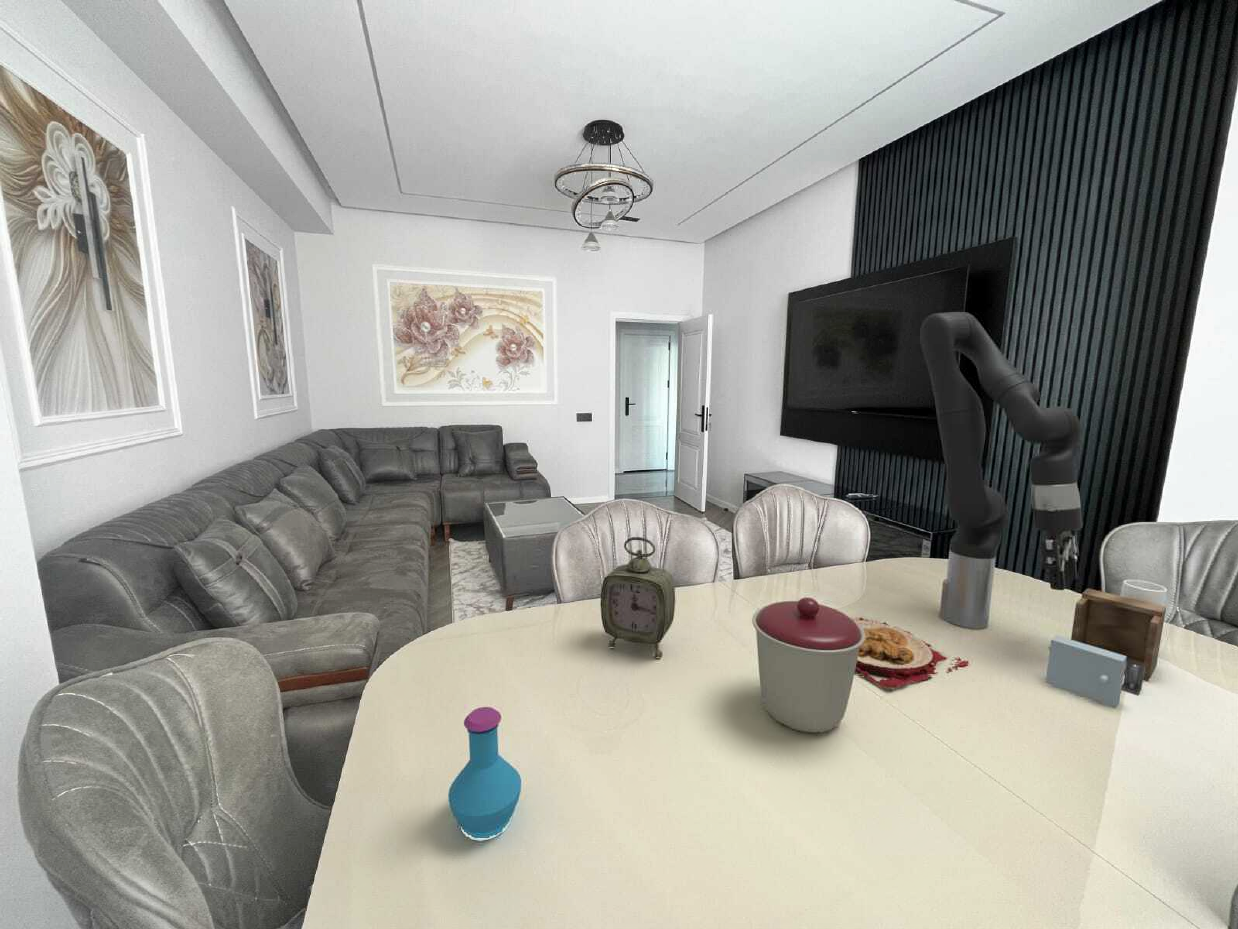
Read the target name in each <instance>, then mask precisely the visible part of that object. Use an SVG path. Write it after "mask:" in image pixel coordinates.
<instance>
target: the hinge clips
mask: <svg viewBox="0 0 1238 929" xmlns="http://www.w3.org/2000/svg"><path fill="white" fill-rule="evenodd" d="M1144 671H1145V665H1142V664H1139V663H1135V662H1132V661H1129V660H1127V664H1126V670H1125V674H1124V676H1123V682H1122V689H1121V691H1125V692H1127V693H1130V694H1134V695H1136V696H1140V694H1141V692H1142V688H1143V684H1144V683H1143V682H1144V680H1143V677H1144ZM1140 691H1141V692H1140Z"/></svg>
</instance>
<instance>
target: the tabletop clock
mask: <svg viewBox="0 0 1238 929" xmlns="http://www.w3.org/2000/svg"><path fill="white" fill-rule="evenodd" d="M631 541H641V542H646V543H648V544H649V545H650V546H651V547H652V549H653V550H652V551H651V552H649V553H643V551H642V549H637V551H636V552H634V551H632V550H630V549H628V547H627V544H628V543H629V542H631ZM623 547H624V549H625V551H626V553H628V554H629V555H631V556H634V557H632V558H631V560H629V562H628V563H626V564H621V565H618V566H617V567H616V568H614V569H613V570H612V571H611V572H609V573H608V574H607V575H606V576H605V577H604V579H603V582H602V584H601V589H600V590H601V591H600V592H601V593H600V615H601V624H602V627H603V629H604V632H605V633H606V634H608V635H609V636H611V637H613V639H612V640H610V641H608V643H607V646H608V648H609V647H614V648H615V647H616V641H617V640H618V639H620V640H623V641H626V642H630V643H637V644H641V643H643V645H644V644H646V645H654V648H655V652H654V657H655V658H657V657H661V658H662V657H663V652H662V650H660V649H659V643H661V642H662V640H663V639H664V637H665V635H666V634H667V633H668V631H669V630H670V629H671V626H672V625H673V622H674V618H675V610H676V588H675V587H676V586H675V581H674V579H673V576H672V573H670V572H668V570H665V569H662V568H659V567H654V566H652V565H651V562H650V561H649V560H648V559H647V558H648V557H651V556H652V555H654V553H656V546H655V544H654V543H653V542H652V541H651V540H650V539H648V538H646V537H640V536H632V537H630V538H628V539H626V540H625V541H624V543H623Z"/></svg>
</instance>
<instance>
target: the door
mask: <svg viewBox="0 0 1238 929" xmlns="http://www.w3.org/2000/svg"><path fill="white" fill-rule="evenodd" d="M1126 657H1127V656H1124V655H1120V654H1117V653H1114V652H1110V651H1107V650H1104V649H1100V648H1097V647H1094V646H1090V645H1087V644H1084V643H1080V642H1077V641H1074V640H1071V638H1067V637H1063V636H1060V635H1058V634H1057V635H1056V634H1055V635H1054V636H1053V637H1052V638H1051V640H1050V646H1049V653H1048V659H1047V660H1048V661H1047V668H1046V675H1045V682H1044V684H1046V683H1047V685H1049V684H1050V686H1052V685H1053V686H1052V687H1056V688H1058V689H1060V688H1061V690H1063V689H1064V690H1063V691H1066V692H1069V693H1072V694H1074V695H1077V696H1080V697H1083V698H1085V699H1088V700H1091V701H1095V702H1096V703H1100V704H1102V705H1105V706H1107V707H1111V708H1114V709H1117V707H1118V705H1119V704H1120V701H1121V694H1122V690H1121V689H1122V685H1123V682H1124V676H1125V674H1124V670H1125V664H1126Z"/></svg>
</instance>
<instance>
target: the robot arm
mask: <svg viewBox="0 0 1238 929" xmlns="http://www.w3.org/2000/svg"><path fill="white" fill-rule="evenodd" d="M919 336H920V338H919V339H920V343H921V348H922V349H921V350H922V353H923V355H924V359H925V363H926V367H927V369H928V370H927V371H928V374H929V378H930V382H931V383H930V384H931V386H932V393H933V397H934V403H935V404H934V405H935V412H936V418H937V425H938V430H939V435H940V441H941V447H942V453H943V454H942V455H943V458H944V460H943V461H944V464H945V471H946V485H947V486H946V489H947V491H946V494H947V507H948V512H949V514H950V516H951V519H952V520H953V521H954V522H955V523H956V524H958V525H957V526H958V527H957V530H956V531H955V533H954V535H953V536H952V537H951V539H950V541H949V552H948V561H947V571H946V572H947V573H946V578H945V579H944V580H943V581H942V586H941V587H942V588H941V598H940V607H939V618H941V619H944V620H946V622H949V623H951V624H954V625H956V626H959V627H963V628H967V629H976V630H980V629H986V628H987V627H988V626H989V621H990V611H991V603H992V592H993V585H994V584H993V583H994V575H995V566H996V559H997V551H998V549H999V546H1000V544H1001V541H1002V537H1003V531H1004V525H1005V518H1006V502H1005V499H1004V497H1003V495H1002V494H1001V493H1000V491H998V490H997V489H995V488H993V487H990V486H987V485H985V482H984V477H983V471H982V459H983V452H984V446H985V441H986V433H987V431H986V430H987V428H986V418H985V415H984V414H985V412H984V409H983V404H982V403H983V402H982V401H981V399H980V397H979V395H978V393H977V392H976V390H974V388H973V387H972V385H971V384H970V383H969V381H967V379H966V378H965V377H964V375H963V374H962V372H961V370H960V368H959V366H958V362H957V356H956V352H959V353H961V354H963V355H964V356H966V358H968V359H969V360H970V361H971V362H972V363H973V364H974V365H975V368H976V371H977V374H978V375H977V376H978V379H979V383H980V385H981V387H982V388H983V390H984V391H985V392H986V393H987V394H988V396H989V397H991V399H993V401H994V402H996V403H997V405H999V407H1000V408H1002V410H1003V411H1004V414H1005V416H1006V418H1007V420H1008V423H1010V426H1011V427H1012V430H1013V431H1014V433H1015V434H1016V435H1017V436H1018V437H1019V438H1020V439H1022V440H1023V441H1025V442H1027V443H1030V444H1035V445H1039V444H1042V448H1041V451H1040V453H1039V454H1037V455H1035V456H1033V457H1032V458H1031V459H1030V461H1029V472H1030V481H1031V492H1030V493H1031V494H1030V495H1031V504H1032V515H1033V522H1034V523H1033V525H1034V528H1035V529H1037V530H1039V531H1045V532H1046V538H1042V539H1041V540H1040V544H1041V553H1042V554H1041V555H1042V557H1041V558H1042V568H1043V570H1047V571H1048V576H1049V577H1048V578H1049V586H1050V589H1051V590H1054V591H1055V590H1056V591H1064V590H1066V580H1071V581H1076V580H1077V579H1078V572H1077V570H1078V569H1077V561H1078V557H1079V556H1080V550H1079V545H1078V544H1079V543H1078V535H1077V533H1078V532H1077V531H1078V530H1081V529H1082V528H1083V526H1084V524H1083V517H1082V516H1083V515H1082V507H1081V498H1080V497H1081V496H1080V491H1079V488H1078V483H1077V475H1076V467H1075V459H1076V456H1077V452H1078V446H1079V442H1080V436H1081V423H1080V419H1079V417H1078V416H1077V414H1076V413H1075V411H1073V410H1072V409H1071V408H1069V407H1066V406H1051V407H1045V408H1043V407H1040V406H1039V405H1038V404H1037V402H1038V400H1039V399H1040V396H1041V393H1040V390H1039V389H1038V388H1037V386H1036V385H1035V384H1034V383H1033V382H1031V381H1030V380H1029V379H1028V378H1027V377H1026V376H1025V375H1024V374H1022V372H1021V371H1019V369H1017V368H1016V367H1015V366H1014V365H1013V364H1012V363H1011V362H1010V361H1009V360H1008V359H1007V358H1006V357H1005V356H1004V354H1003V353H1002V352H1001V350H1000V348H998V346H997V345H996V343H995V342H994V341H993V339H992V338H991V336H989V334H988V332H987V330H985V329H984V327H983V326H982V324H981V323H980V322H979V320H978V319H977V318H976V317H975V316H974V315H973V314H972V313H971V314H970V312H965V311H950V312H938V313H932V314H929V316H927V317H926V318H924V320H923V322H922V324H921V326H920V334H919ZM1053 562H1055V563H1053Z"/></svg>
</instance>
